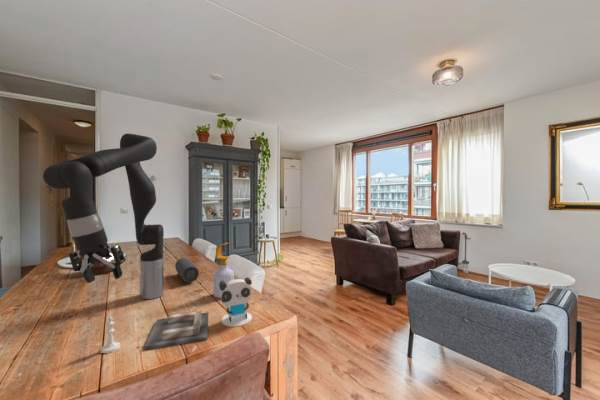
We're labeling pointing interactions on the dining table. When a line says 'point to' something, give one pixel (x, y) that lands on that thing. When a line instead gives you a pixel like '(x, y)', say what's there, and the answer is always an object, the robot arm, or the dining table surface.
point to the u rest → (178, 330)
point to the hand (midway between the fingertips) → (105, 279)
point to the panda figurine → (236, 301)
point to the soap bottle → (221, 272)
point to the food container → (100, 268)
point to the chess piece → (110, 339)
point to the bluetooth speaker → (186, 270)
